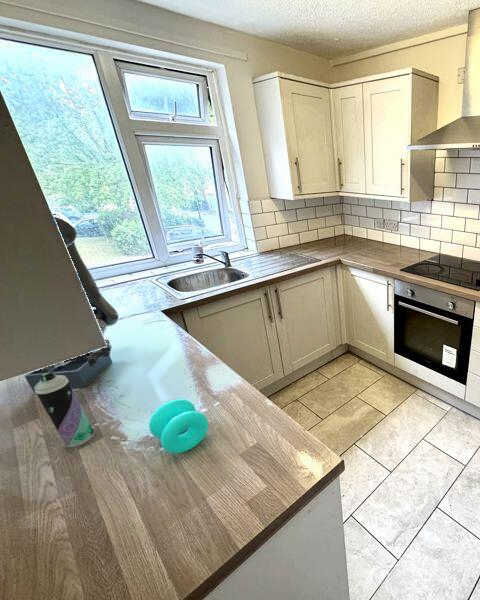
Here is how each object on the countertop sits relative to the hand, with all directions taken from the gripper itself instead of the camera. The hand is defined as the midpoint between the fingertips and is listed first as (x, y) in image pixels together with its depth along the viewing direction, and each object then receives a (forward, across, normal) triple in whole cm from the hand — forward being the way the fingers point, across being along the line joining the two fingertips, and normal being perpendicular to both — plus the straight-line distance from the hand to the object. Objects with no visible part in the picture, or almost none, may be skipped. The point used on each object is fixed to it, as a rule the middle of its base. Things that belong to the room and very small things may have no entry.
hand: (69, 368), depth 85 cm
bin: (-23, -8, +15) cm, 29 cm away
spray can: (+11, 0, +15) cm, 18 cm away
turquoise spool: (+24, +22, +15) cm, 36 cm away
